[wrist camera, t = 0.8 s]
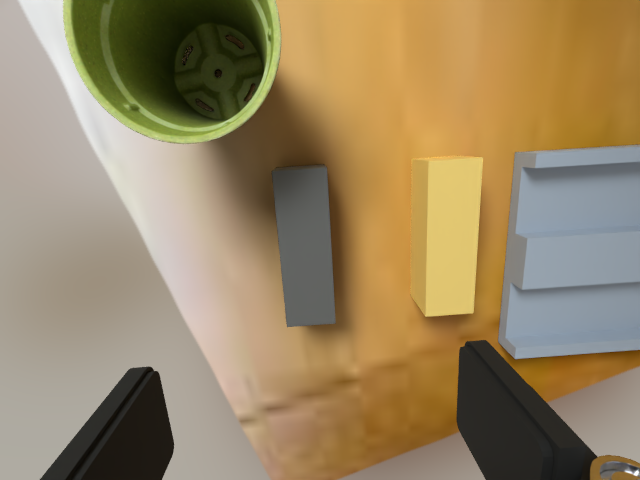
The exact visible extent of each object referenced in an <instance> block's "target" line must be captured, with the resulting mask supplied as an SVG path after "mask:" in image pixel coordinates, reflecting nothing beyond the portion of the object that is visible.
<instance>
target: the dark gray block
mask: <svg viewBox="0 0 640 480" xmlns="http://www.w3.org/2000/svg"><path fill="white" fill-rule="evenodd" d="M272 179H273V189H274V199H275V210H276V220H277V230H278V240H279V251H280V261H281V271H282V281H283V291H284V302H285V312H286V322H287V327H294V326H307V325H321V324H335V323H336V321H335V303H334V285H333V267H332V249H331V231H330V213H329V195H328V177H327V167H326V166H325V165H324V164H323V165H307V166H292V167H277V168H276V169H274V170H273V171H272Z"/></svg>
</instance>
